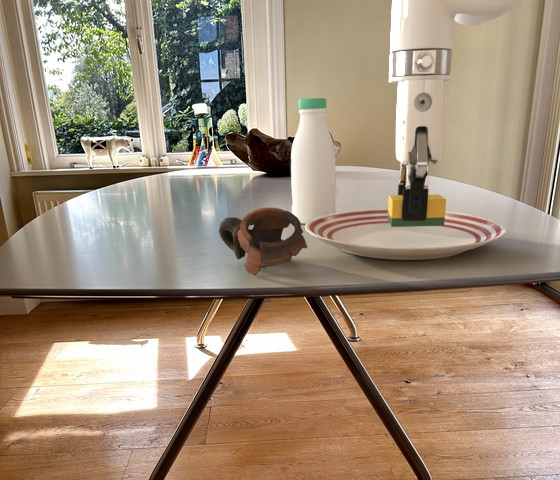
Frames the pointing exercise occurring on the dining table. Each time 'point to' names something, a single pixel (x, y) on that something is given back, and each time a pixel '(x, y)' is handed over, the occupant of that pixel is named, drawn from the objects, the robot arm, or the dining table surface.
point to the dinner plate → (403, 235)
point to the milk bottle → (313, 164)
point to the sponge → (433, 219)
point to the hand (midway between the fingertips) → (411, 215)
